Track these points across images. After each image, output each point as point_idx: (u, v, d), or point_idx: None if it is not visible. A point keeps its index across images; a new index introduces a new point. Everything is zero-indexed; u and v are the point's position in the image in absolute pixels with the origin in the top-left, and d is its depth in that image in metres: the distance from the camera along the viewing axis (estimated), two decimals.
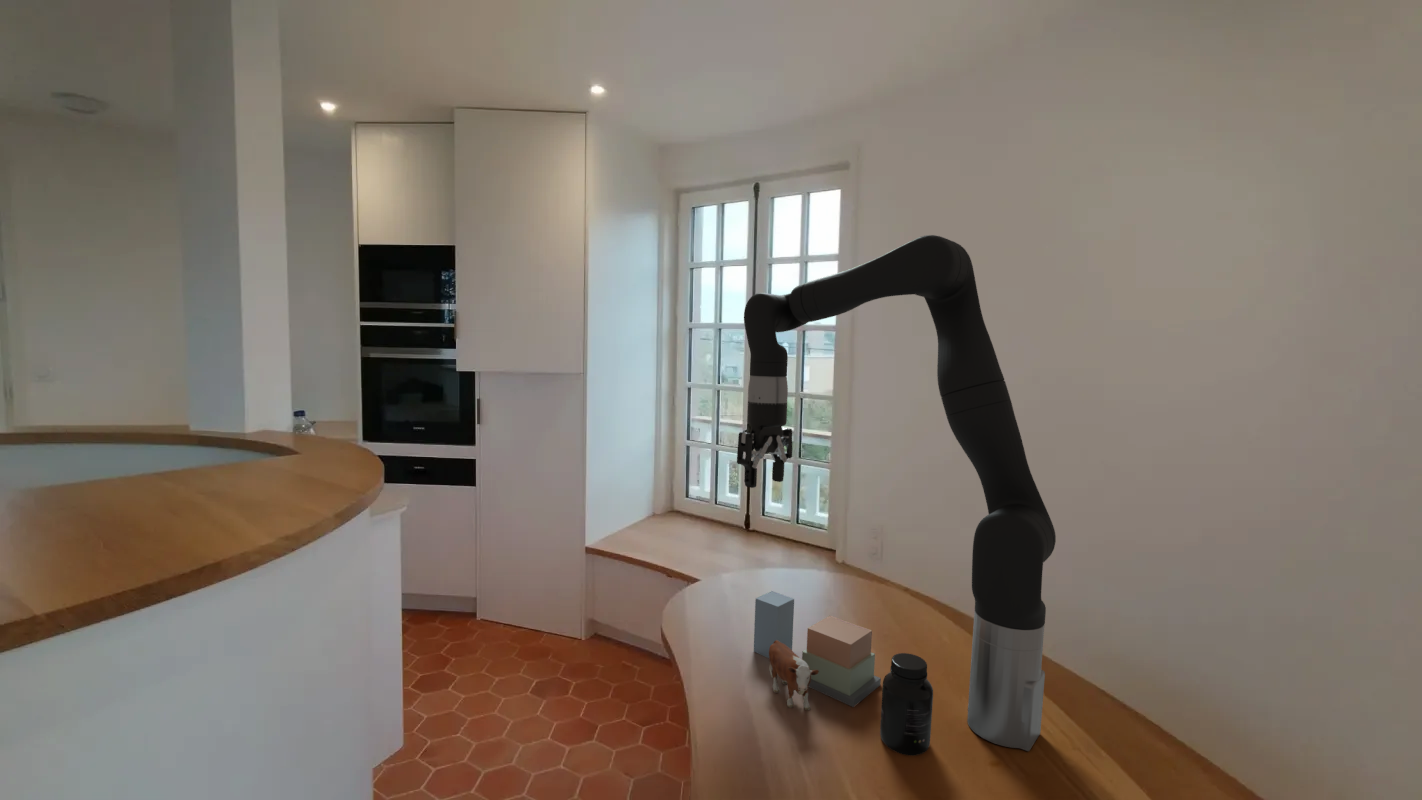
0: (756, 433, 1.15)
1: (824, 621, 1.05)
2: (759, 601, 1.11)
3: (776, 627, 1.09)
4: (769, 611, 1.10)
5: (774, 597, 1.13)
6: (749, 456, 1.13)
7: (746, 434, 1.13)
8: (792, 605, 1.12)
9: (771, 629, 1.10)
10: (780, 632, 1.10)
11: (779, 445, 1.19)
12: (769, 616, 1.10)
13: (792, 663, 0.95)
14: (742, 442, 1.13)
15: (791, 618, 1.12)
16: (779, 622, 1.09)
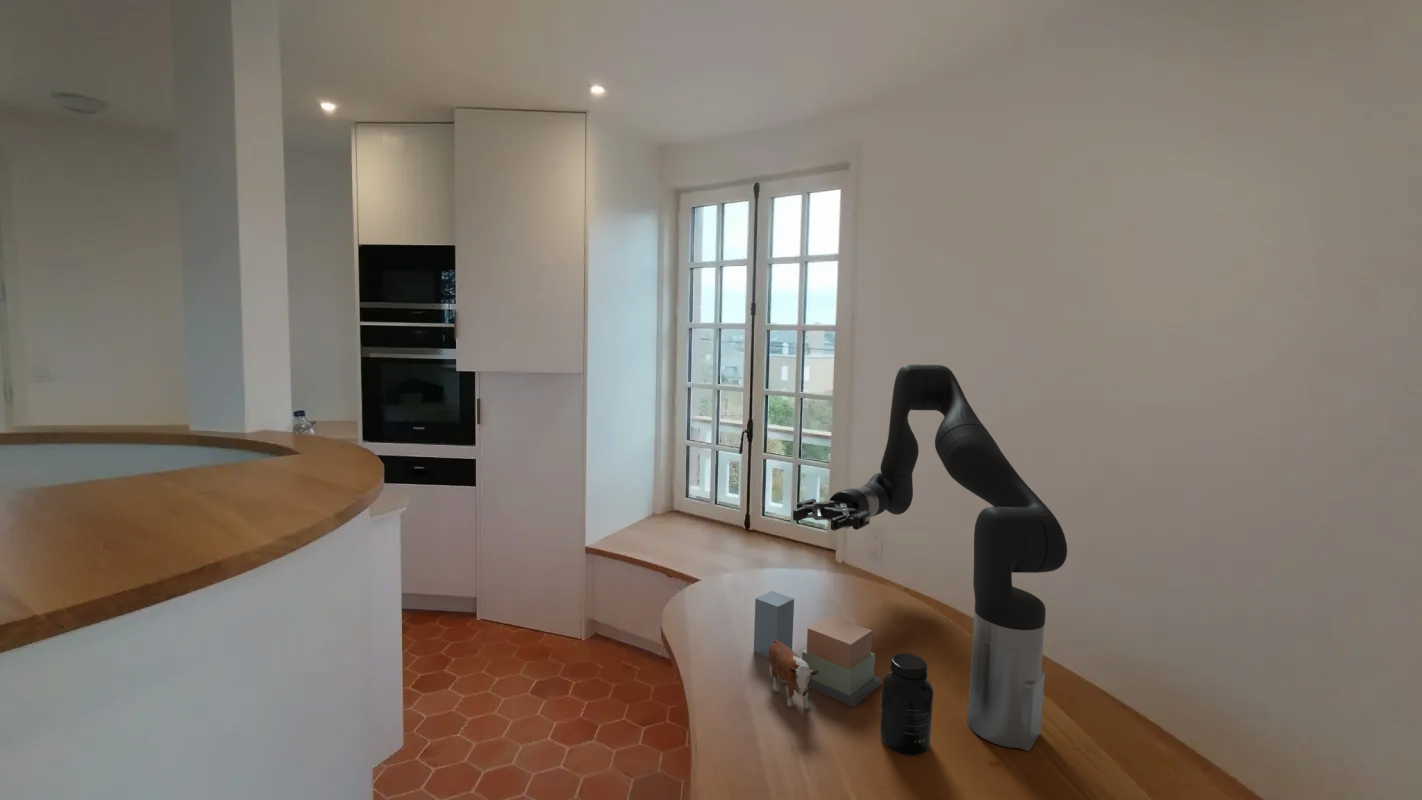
0: None
1: (824, 621, 1.05)
2: (759, 601, 1.11)
3: (776, 627, 1.09)
4: (769, 611, 1.10)
5: (774, 597, 1.13)
6: (803, 502, 1.29)
7: None
8: (792, 605, 1.12)
9: (771, 629, 1.10)
10: (780, 632, 1.10)
11: (842, 507, 1.24)
12: (769, 616, 1.10)
13: (792, 663, 0.95)
14: None
15: (791, 618, 1.12)
16: (779, 622, 1.09)
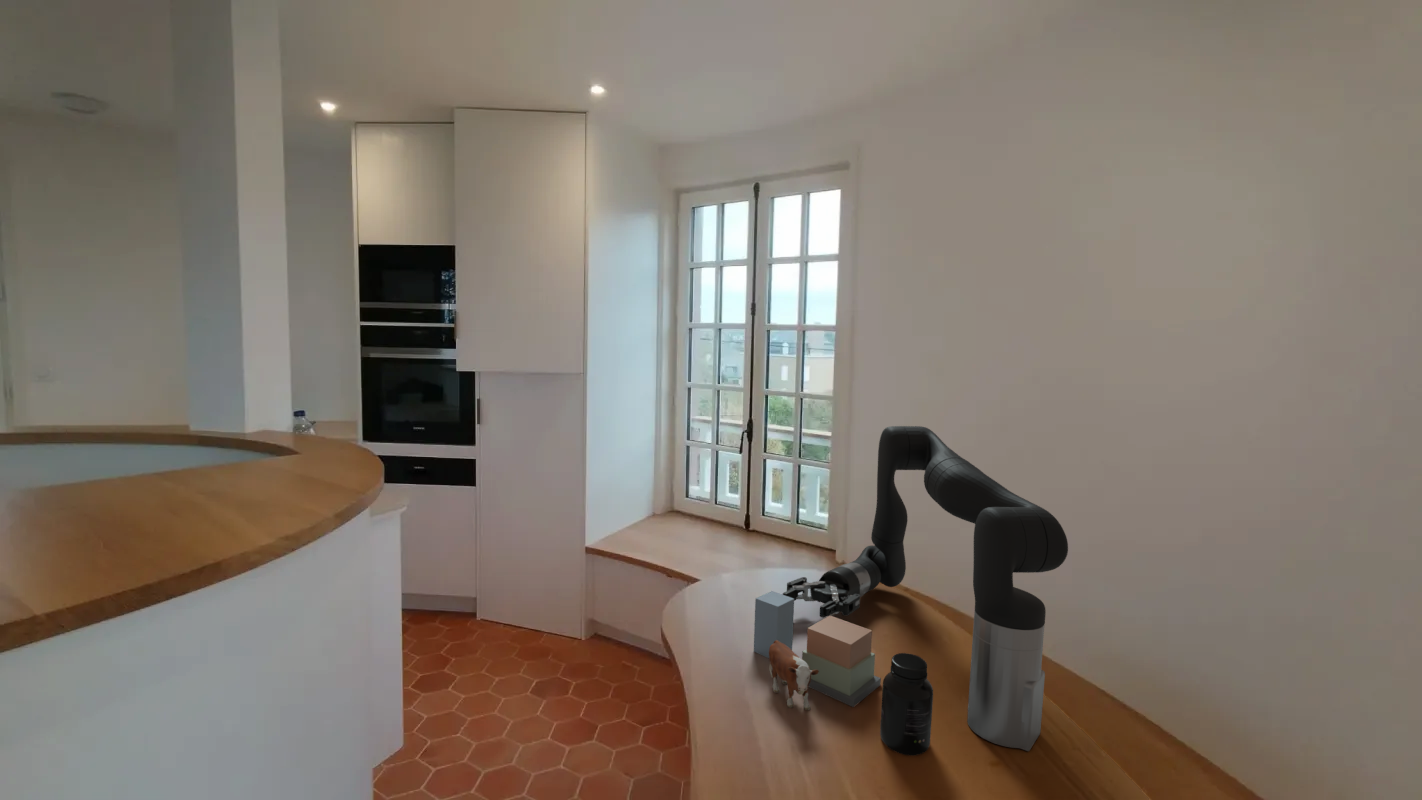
0: None
1: (824, 621, 1.05)
2: (759, 601, 1.11)
3: (776, 627, 1.09)
4: (769, 611, 1.10)
5: (774, 597, 1.13)
6: (793, 582, 1.28)
7: None
8: (792, 605, 1.12)
9: (771, 629, 1.10)
10: (780, 632, 1.10)
11: (832, 589, 1.23)
12: (769, 616, 1.10)
13: (792, 662, 0.95)
14: None
15: (791, 618, 1.12)
16: (779, 622, 1.09)
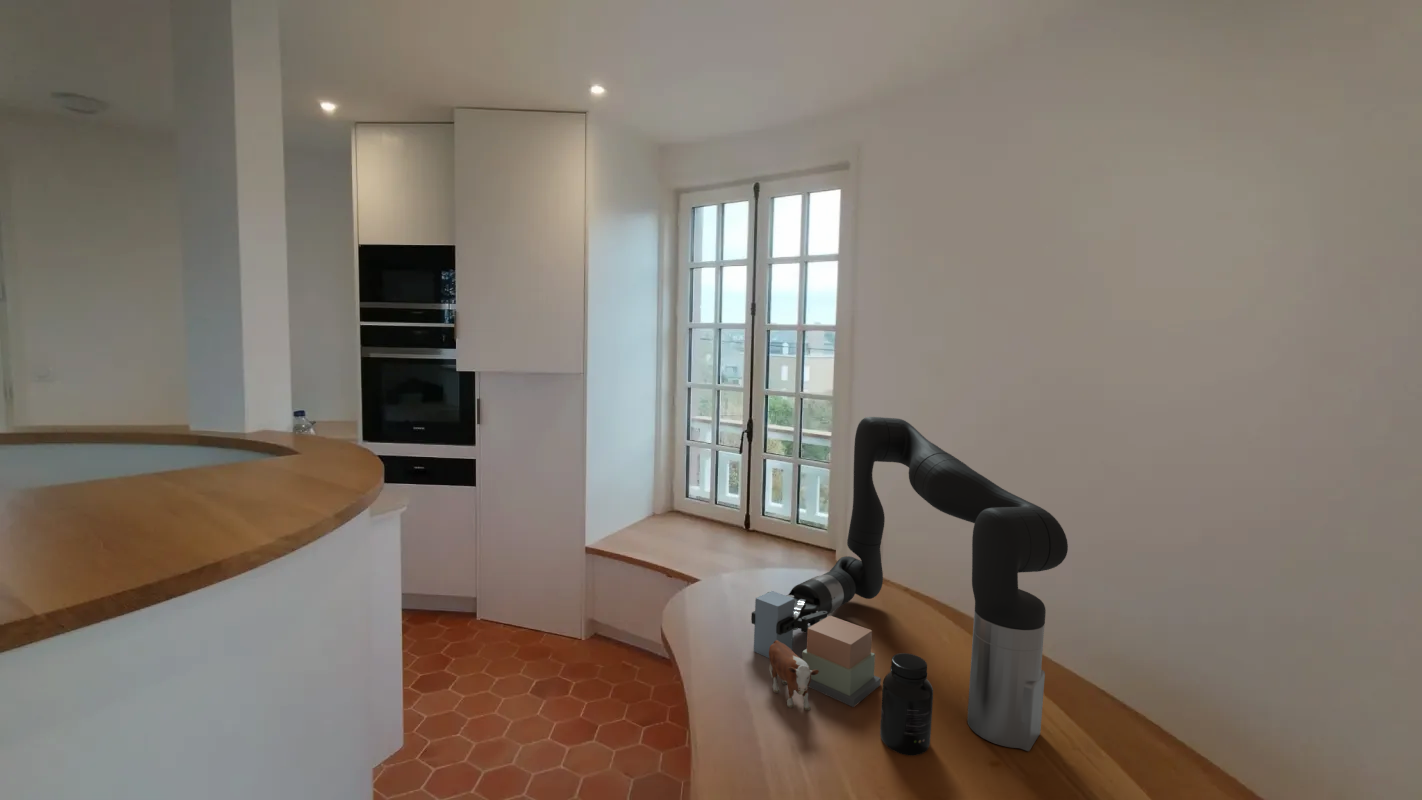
0: None
1: (824, 621, 1.05)
2: (759, 601, 1.11)
3: None
4: (769, 611, 1.10)
5: (774, 597, 1.13)
6: None
7: None
8: (792, 605, 1.12)
9: (771, 629, 1.10)
10: None
11: (798, 604, 1.15)
12: (769, 616, 1.10)
13: (792, 663, 0.95)
14: None
15: None
16: None
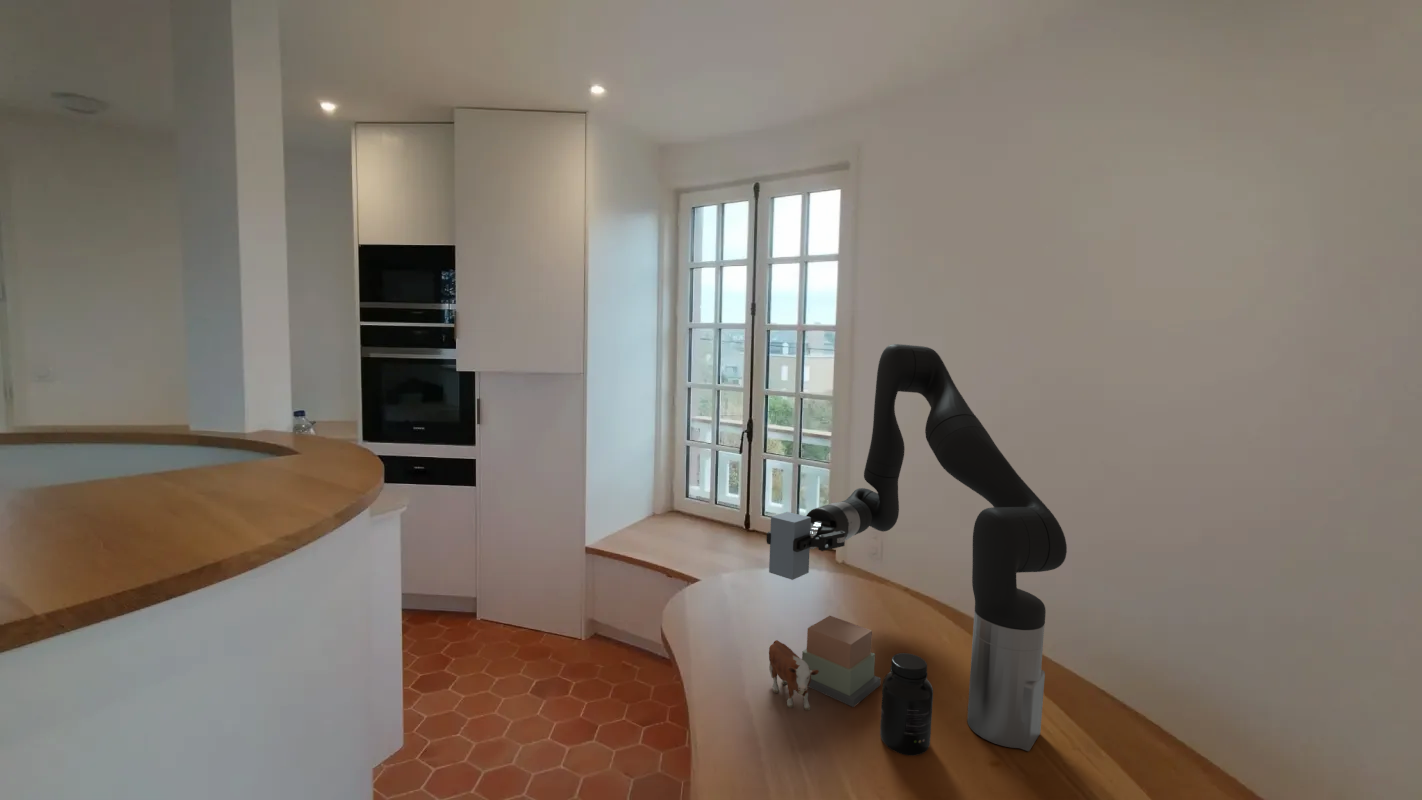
0: None
1: (824, 621, 1.05)
2: (775, 519, 1.08)
3: None
4: (785, 528, 1.06)
5: (790, 516, 1.09)
6: None
7: None
8: (809, 524, 1.08)
9: (788, 547, 1.06)
10: None
11: (815, 525, 1.12)
12: (786, 533, 1.06)
13: (792, 663, 0.95)
14: None
15: None
16: None
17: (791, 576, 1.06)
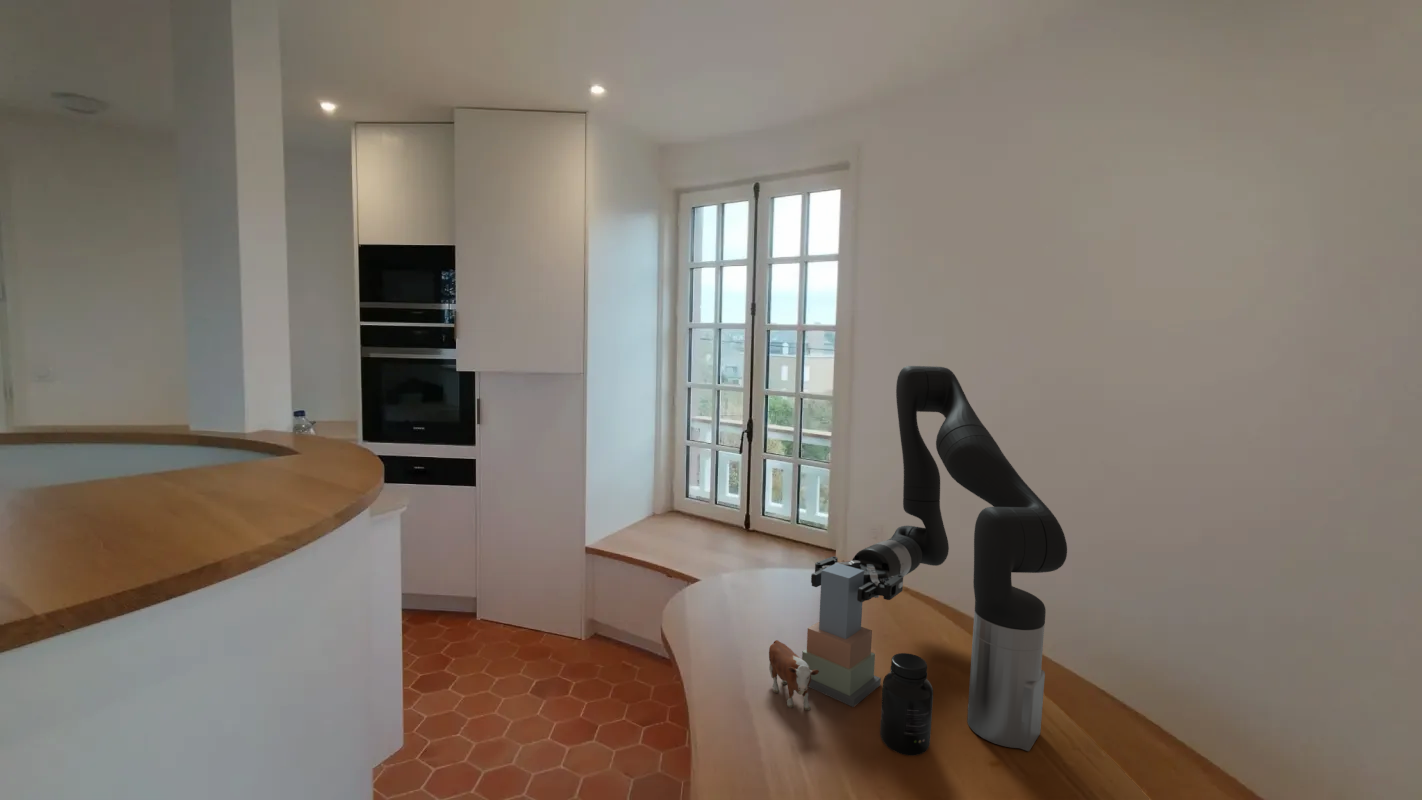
0: None
1: None
2: (826, 573, 1.00)
3: (846, 601, 0.98)
4: (838, 584, 0.99)
5: (841, 569, 1.02)
6: (822, 562, 1.09)
7: None
8: (862, 578, 1.01)
9: (841, 604, 0.99)
10: (850, 607, 0.99)
11: (870, 569, 1.04)
12: (838, 589, 0.99)
13: (792, 662, 0.95)
14: None
15: None
16: (849, 595, 0.98)
17: (844, 635, 0.99)
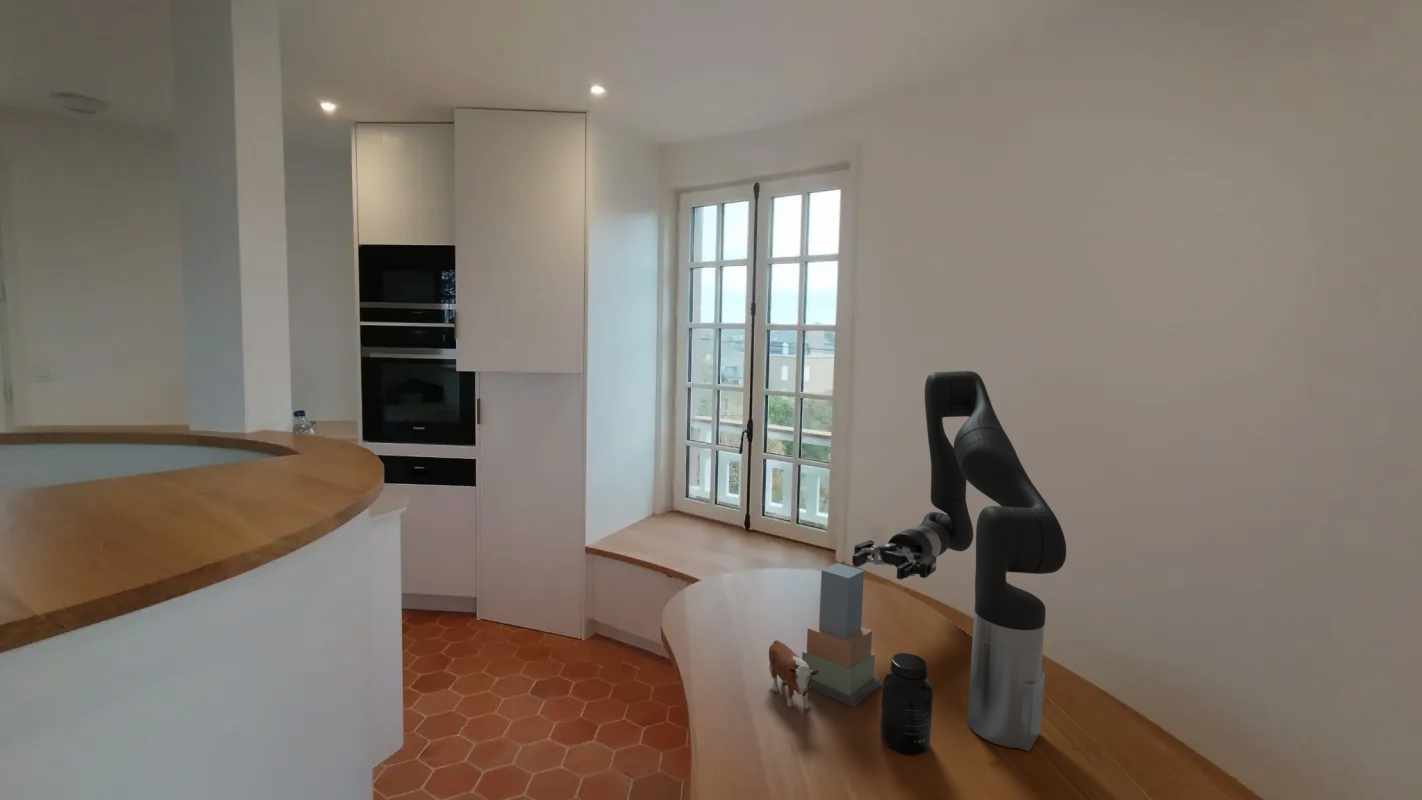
0: None
1: None
2: (826, 573, 1.00)
3: (846, 601, 0.98)
4: (838, 584, 0.99)
5: (841, 569, 1.02)
6: (861, 545, 1.19)
7: None
8: (862, 578, 1.01)
9: (841, 604, 0.99)
10: (850, 607, 0.99)
11: (906, 551, 1.14)
12: (838, 589, 0.99)
13: (792, 663, 0.95)
14: None
15: (861, 592, 1.01)
16: (849, 595, 0.98)
17: (844, 635, 0.99)
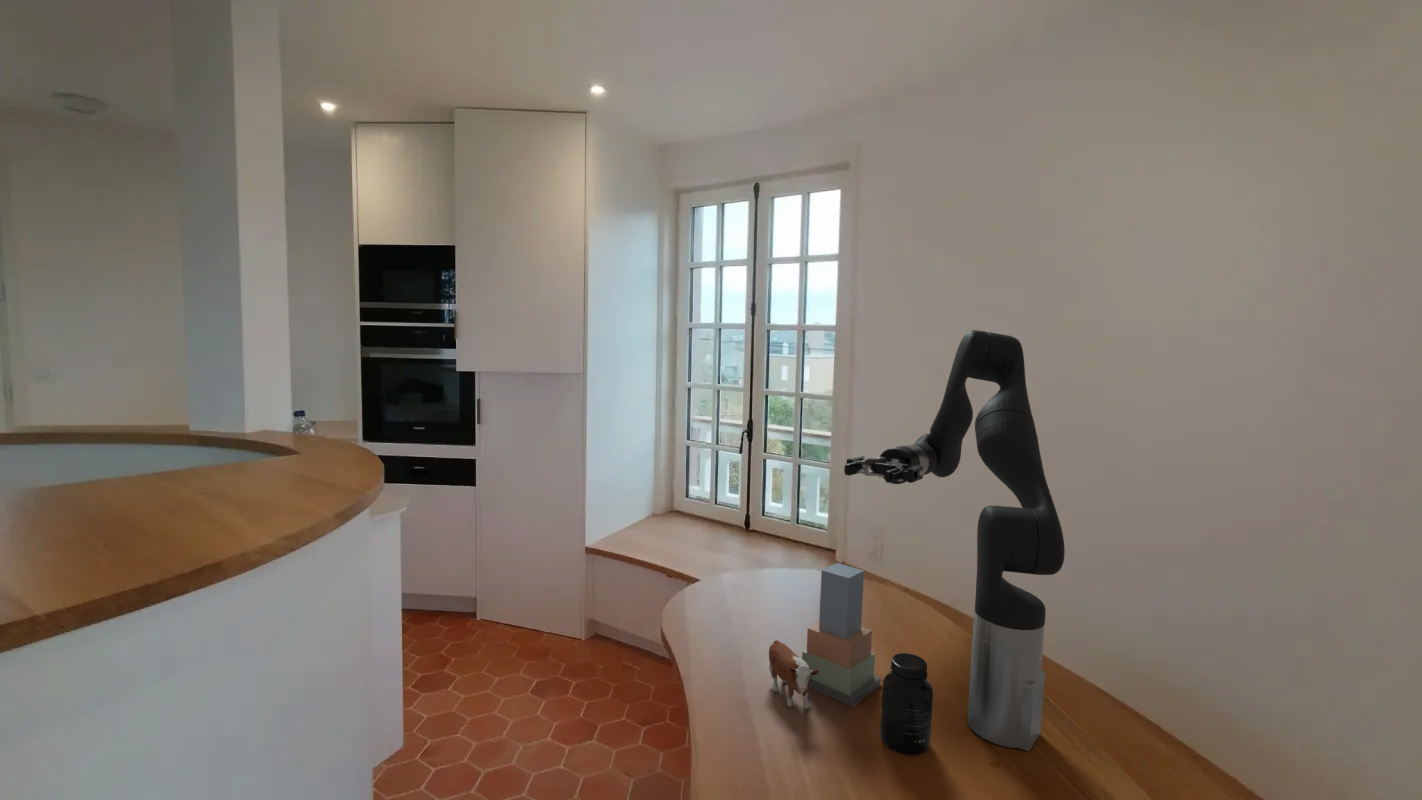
0: None
1: None
2: (826, 573, 1.00)
3: (846, 601, 0.98)
4: (838, 584, 0.99)
5: (841, 569, 1.02)
6: (852, 459, 1.26)
7: None
8: (862, 578, 1.01)
9: (841, 604, 0.99)
10: (850, 607, 0.99)
11: (894, 461, 1.22)
12: (838, 589, 0.99)
13: (792, 663, 0.95)
14: None
15: (861, 592, 1.01)
16: (849, 595, 0.98)
17: (844, 635, 0.99)
